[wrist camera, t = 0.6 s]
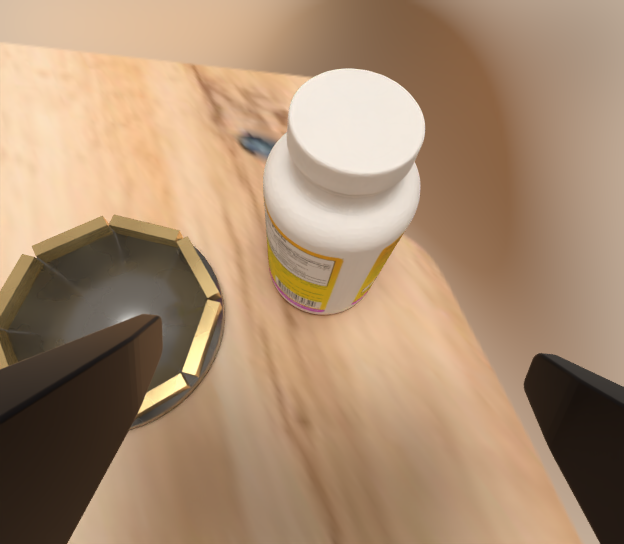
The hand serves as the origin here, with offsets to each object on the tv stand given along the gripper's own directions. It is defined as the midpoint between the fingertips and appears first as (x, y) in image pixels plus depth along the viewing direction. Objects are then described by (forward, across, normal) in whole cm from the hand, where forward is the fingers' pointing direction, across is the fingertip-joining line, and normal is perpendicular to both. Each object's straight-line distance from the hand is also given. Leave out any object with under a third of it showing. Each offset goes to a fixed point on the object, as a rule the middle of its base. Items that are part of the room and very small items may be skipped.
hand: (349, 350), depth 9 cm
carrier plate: (+12, +11, +7) cm, 18 cm away
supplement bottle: (+15, 0, +4) cm, 16 cm away
